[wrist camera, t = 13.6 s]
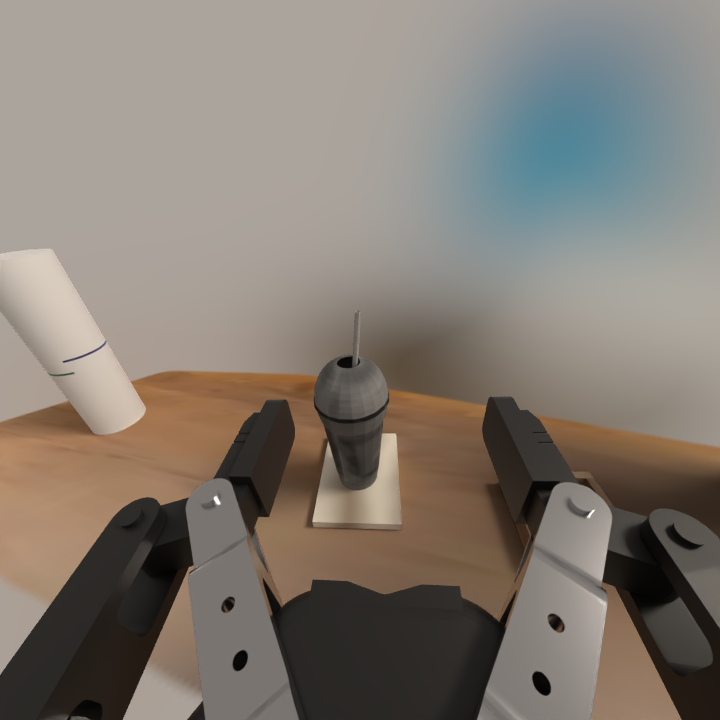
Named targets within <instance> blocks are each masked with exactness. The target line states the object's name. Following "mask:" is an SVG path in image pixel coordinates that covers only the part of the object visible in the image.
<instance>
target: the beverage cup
mask: <svg viewBox="0 0 720 720" xmlns="http://www.w3.org/2000/svg"><path fill="white" fill-rule="evenodd" d="M360 318H361V311H355V325H354V343H353V355H344V356H341V357H338V358H335V359H334V360H332V361H330V362H329V363H328V364H327V365H326V366H325V367H324V368H323V369H322V371H321V372H320V374H319V376H318V379H317V381H316V384H315V390H314V393H315V396H314V406H315V409H316V410H317V412H318V415H319V417H320V419H321V421H322V423H323V424H324V427H325V431H326V434H327V438H328V441H329V445H330V448H331V452H332V455H333V459H334V463H335V466H336V470H337V472H338V474H339V477H340V480H341V482H342V484H343V485H344V486H346V487H347V488H349V489H352V490H363V489H366V488H368V487H370V486H371V485H372V484H373V483H374V482H375V480H376V478H377V473H378V468H379V459H380V449H381V438H382V428H383V419H384V417H385V414H386V410H387V404H388V402H389V392H388V389H387V384H386V381H385V379H384V377H383V375H382V373H381V371H380V369H379V368H378V367H377V366H376V365H375V364H374V363H372V362H371V361H370V360H368V359H366V358H364V357H361V356H358V351H359V334H360Z"/></svg>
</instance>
